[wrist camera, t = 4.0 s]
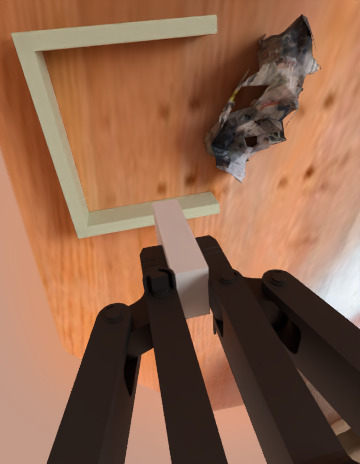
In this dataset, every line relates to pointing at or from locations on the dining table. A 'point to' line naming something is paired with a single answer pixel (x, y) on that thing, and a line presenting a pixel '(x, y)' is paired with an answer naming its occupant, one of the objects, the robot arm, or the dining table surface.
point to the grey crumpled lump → (264, 99)
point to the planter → (337, 424)
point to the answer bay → (53, 127)
